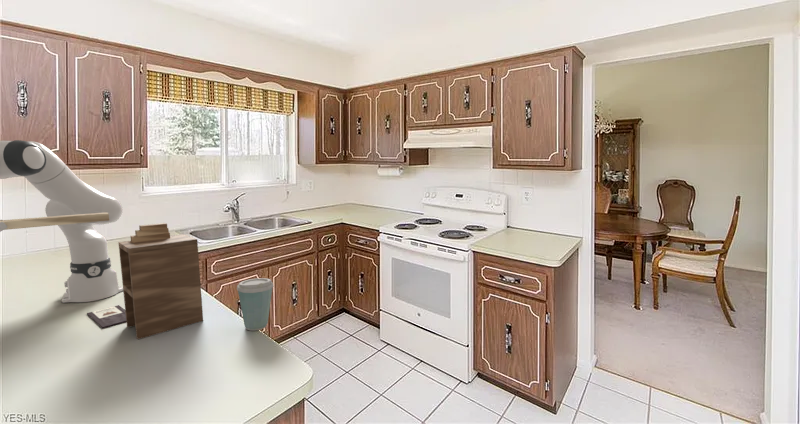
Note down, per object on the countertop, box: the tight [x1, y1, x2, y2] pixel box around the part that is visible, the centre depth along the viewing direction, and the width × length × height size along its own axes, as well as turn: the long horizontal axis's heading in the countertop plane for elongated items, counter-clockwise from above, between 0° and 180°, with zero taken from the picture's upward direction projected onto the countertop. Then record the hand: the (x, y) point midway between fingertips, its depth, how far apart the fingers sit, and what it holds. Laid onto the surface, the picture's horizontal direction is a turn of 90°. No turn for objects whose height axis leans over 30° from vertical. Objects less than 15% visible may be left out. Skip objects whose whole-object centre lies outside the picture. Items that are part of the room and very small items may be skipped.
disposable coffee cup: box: [236, 277, 275, 331], centre depth 118 cm, size 11×11×15 cm
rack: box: [117, 222, 204, 340], centre depth 119 cm, size 13×18×32 cm
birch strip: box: [0, 212, 109, 231], centre depth 99 cm, size 4×24×2 cm, turn 137°
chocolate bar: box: [86, 304, 127, 330], centre depth 126 cm, size 9×1×18 cm
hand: (5, 223), depth 93 cm, fingers closed on birch strip, 3 cm apart
